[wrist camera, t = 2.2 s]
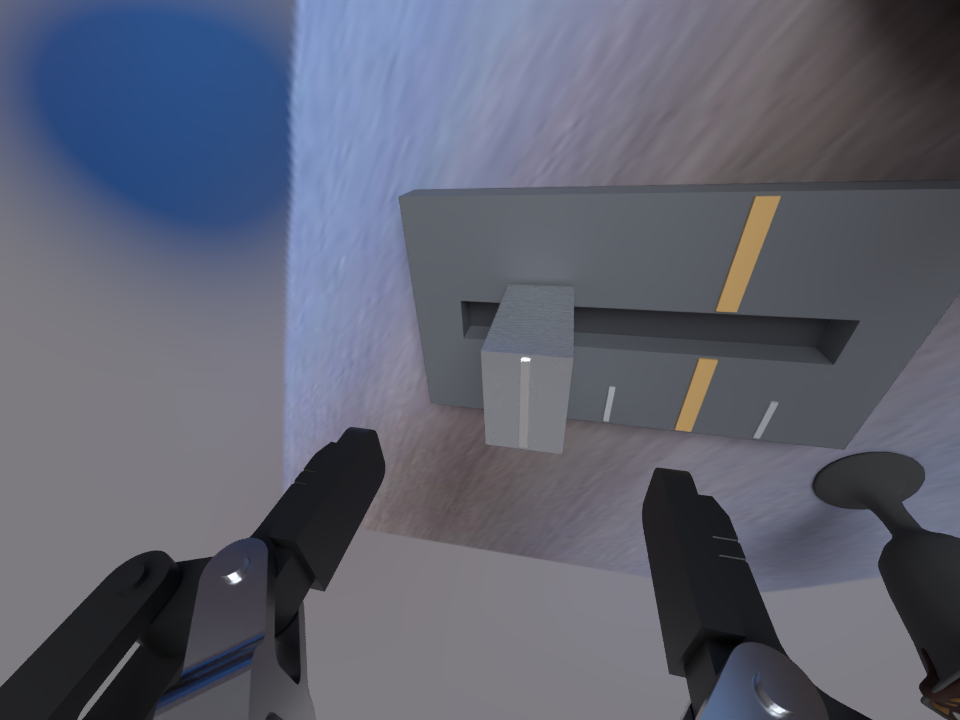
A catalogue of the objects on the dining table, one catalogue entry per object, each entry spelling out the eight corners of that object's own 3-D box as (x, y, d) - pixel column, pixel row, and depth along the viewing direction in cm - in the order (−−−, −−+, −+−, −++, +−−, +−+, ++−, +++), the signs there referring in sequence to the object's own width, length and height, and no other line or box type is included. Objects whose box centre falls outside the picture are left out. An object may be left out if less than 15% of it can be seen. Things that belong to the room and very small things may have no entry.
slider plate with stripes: (979, 179, 13) (1039, 188, 11) (821, 422, 20) (845, 451, 18) (414, 189, 18) (397, 197, 16) (440, 384, 24) (430, 404, 22)
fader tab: (574, 275, 17) (573, 360, 11) (566, 352, 20) (562, 456, 14) (512, 273, 18) (480, 352, 12) (512, 348, 20) (485, 446, 14)
